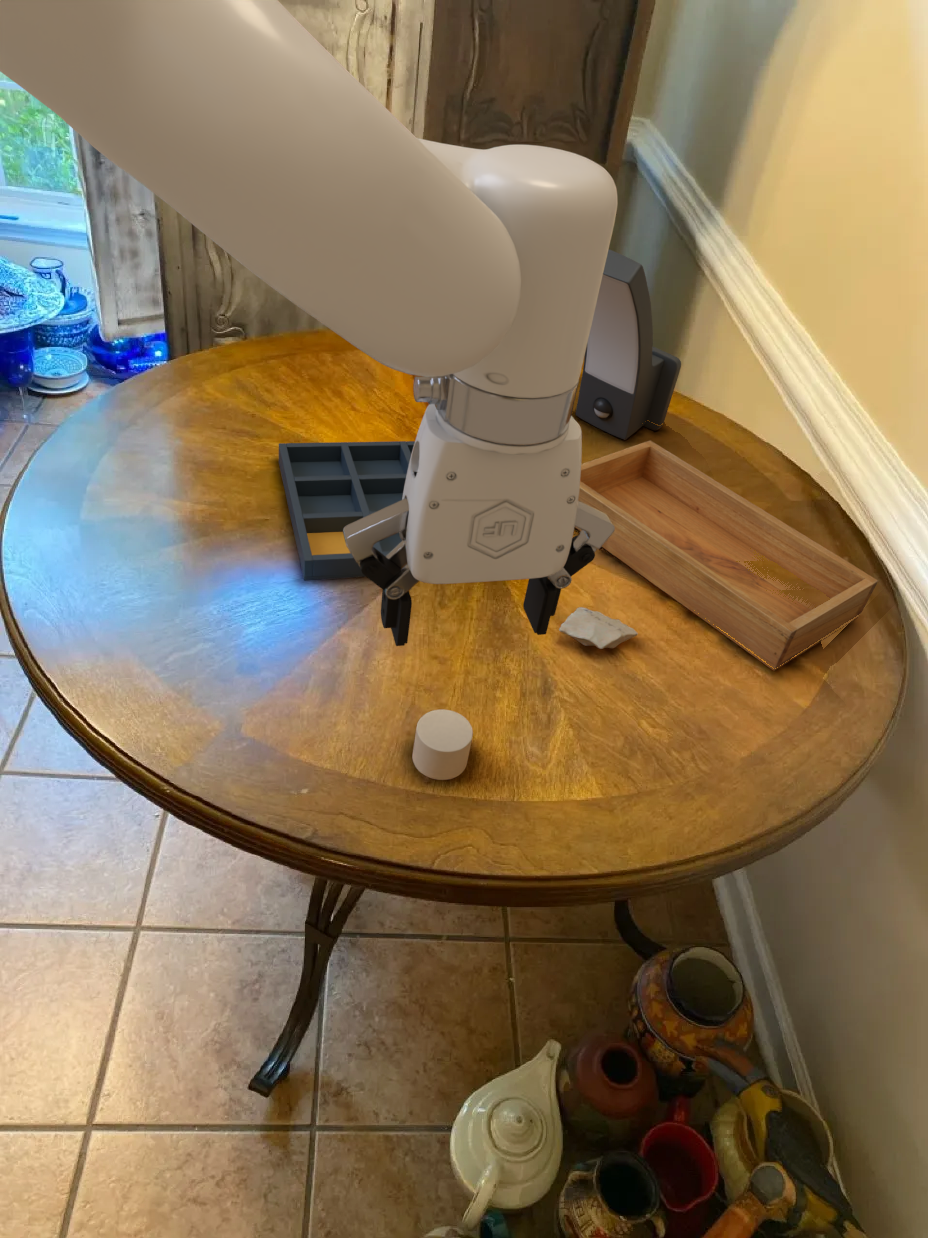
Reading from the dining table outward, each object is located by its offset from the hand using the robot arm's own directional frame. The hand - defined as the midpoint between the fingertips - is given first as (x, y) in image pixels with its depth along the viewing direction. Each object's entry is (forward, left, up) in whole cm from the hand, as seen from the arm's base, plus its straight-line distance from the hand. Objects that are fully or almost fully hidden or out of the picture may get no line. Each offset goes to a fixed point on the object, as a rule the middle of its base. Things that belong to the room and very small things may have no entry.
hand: (466, 626), depth 62 cm
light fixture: (+33, +51, -16) cm, 63 cm away
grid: (+3, +35, -15) cm, 39 cm away
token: (0, +1, -15) cm, 15 cm away
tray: (+34, +23, -16) cm, 44 cm away
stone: (+18, +13, -16) cm, 27 cm away
